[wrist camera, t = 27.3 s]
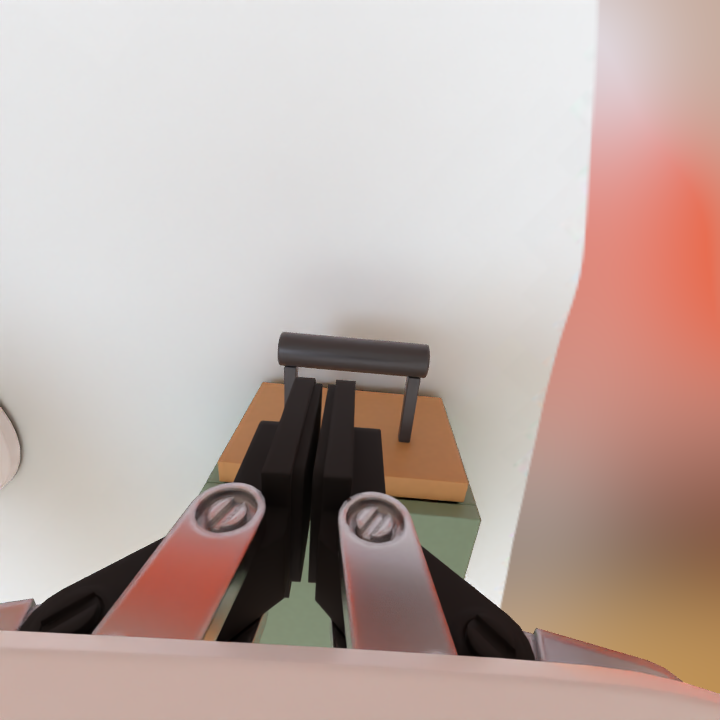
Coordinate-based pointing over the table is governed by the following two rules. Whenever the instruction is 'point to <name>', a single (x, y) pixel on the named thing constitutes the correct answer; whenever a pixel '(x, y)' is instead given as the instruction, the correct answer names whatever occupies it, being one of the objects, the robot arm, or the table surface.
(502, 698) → the robot arm
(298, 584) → the cabinet
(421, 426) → the drawer
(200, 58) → the table surface
